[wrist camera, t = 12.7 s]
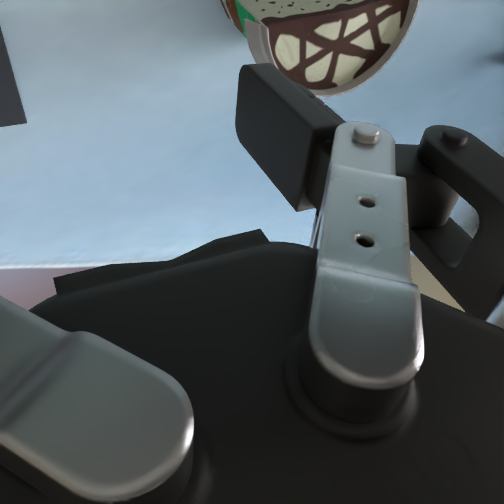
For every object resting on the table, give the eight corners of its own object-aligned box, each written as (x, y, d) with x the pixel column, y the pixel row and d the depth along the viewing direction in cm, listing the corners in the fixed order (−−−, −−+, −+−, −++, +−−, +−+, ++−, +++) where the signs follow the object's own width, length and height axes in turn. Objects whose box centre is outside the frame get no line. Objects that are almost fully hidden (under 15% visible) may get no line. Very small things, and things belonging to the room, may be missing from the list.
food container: (206, 68, 39) (261, 124, 32) (197, -16, 34) (258, 30, 28) (336, 37, 42) (409, 82, 36) (343, -43, 38) (427, -8, 31)
